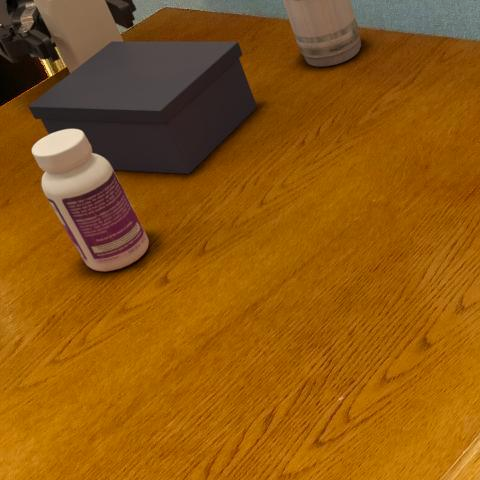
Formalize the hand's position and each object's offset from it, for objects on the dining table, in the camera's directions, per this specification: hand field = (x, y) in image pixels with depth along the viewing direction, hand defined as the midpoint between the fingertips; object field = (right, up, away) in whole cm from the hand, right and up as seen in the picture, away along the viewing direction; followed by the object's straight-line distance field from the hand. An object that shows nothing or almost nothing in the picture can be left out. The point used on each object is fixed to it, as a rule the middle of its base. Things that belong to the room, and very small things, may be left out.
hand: (90, 33), depth 98 cm
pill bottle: (+10, -27, -17) cm, 33 cm away
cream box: (0, -3, +6) cm, 6 cm away
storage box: (+9, -12, -4) cm, 15 cm away
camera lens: (+23, -1, +3) cm, 23 cm away
